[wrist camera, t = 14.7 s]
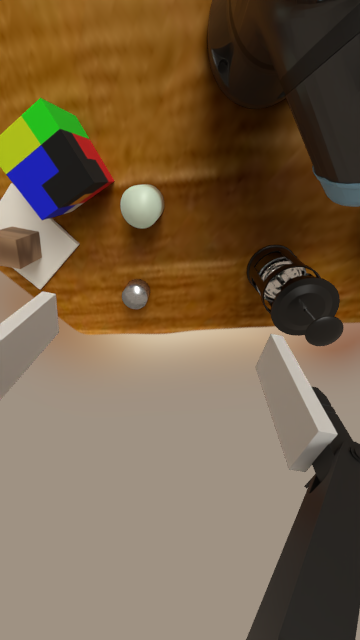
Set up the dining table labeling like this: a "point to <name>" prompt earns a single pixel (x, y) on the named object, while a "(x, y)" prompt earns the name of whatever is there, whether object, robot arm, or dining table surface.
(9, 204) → the plate
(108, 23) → the dining table surface
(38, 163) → the puzzle toy
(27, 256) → the walnut block
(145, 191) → the pale green egg
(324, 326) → the french press
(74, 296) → the dining table surface
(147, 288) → the grey tin
